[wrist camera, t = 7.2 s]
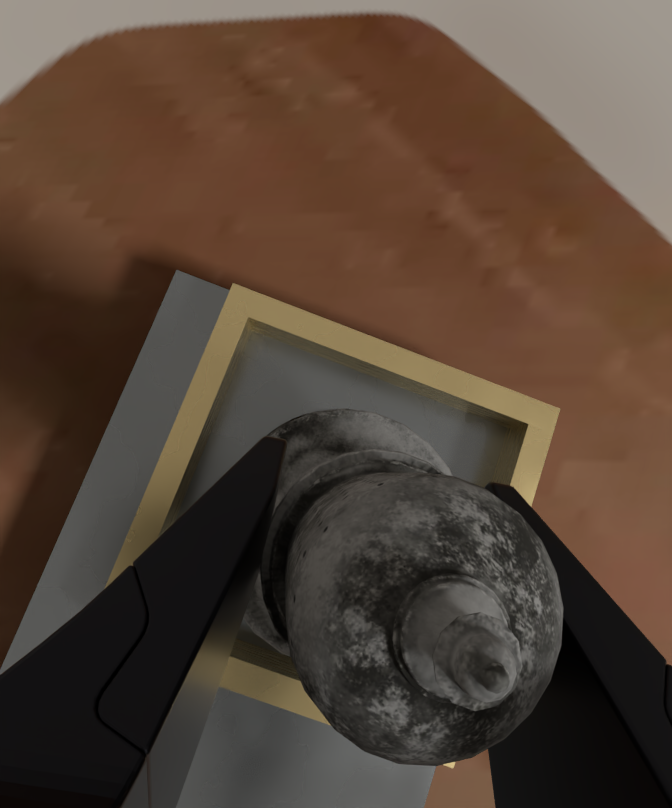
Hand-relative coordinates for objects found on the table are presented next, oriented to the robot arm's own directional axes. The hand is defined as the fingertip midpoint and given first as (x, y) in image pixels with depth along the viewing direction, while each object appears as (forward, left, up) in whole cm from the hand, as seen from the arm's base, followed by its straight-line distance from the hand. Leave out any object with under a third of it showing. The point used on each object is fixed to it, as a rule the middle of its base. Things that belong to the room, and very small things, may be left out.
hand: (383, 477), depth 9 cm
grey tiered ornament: (-1, 0, -7) cm, 7 cm away
